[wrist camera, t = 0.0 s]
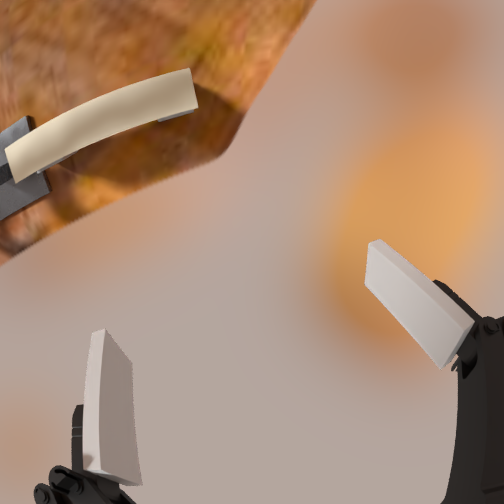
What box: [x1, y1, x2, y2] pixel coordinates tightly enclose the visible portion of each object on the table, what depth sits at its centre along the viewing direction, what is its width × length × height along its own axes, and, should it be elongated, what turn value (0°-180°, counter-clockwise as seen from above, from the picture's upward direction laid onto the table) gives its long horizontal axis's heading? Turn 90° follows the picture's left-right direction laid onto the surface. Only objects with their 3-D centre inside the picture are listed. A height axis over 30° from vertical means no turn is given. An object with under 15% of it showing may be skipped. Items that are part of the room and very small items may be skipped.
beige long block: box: [5, 68, 198, 183], centre depth 21 cm, size 4×20×6 cm, turn 100°
